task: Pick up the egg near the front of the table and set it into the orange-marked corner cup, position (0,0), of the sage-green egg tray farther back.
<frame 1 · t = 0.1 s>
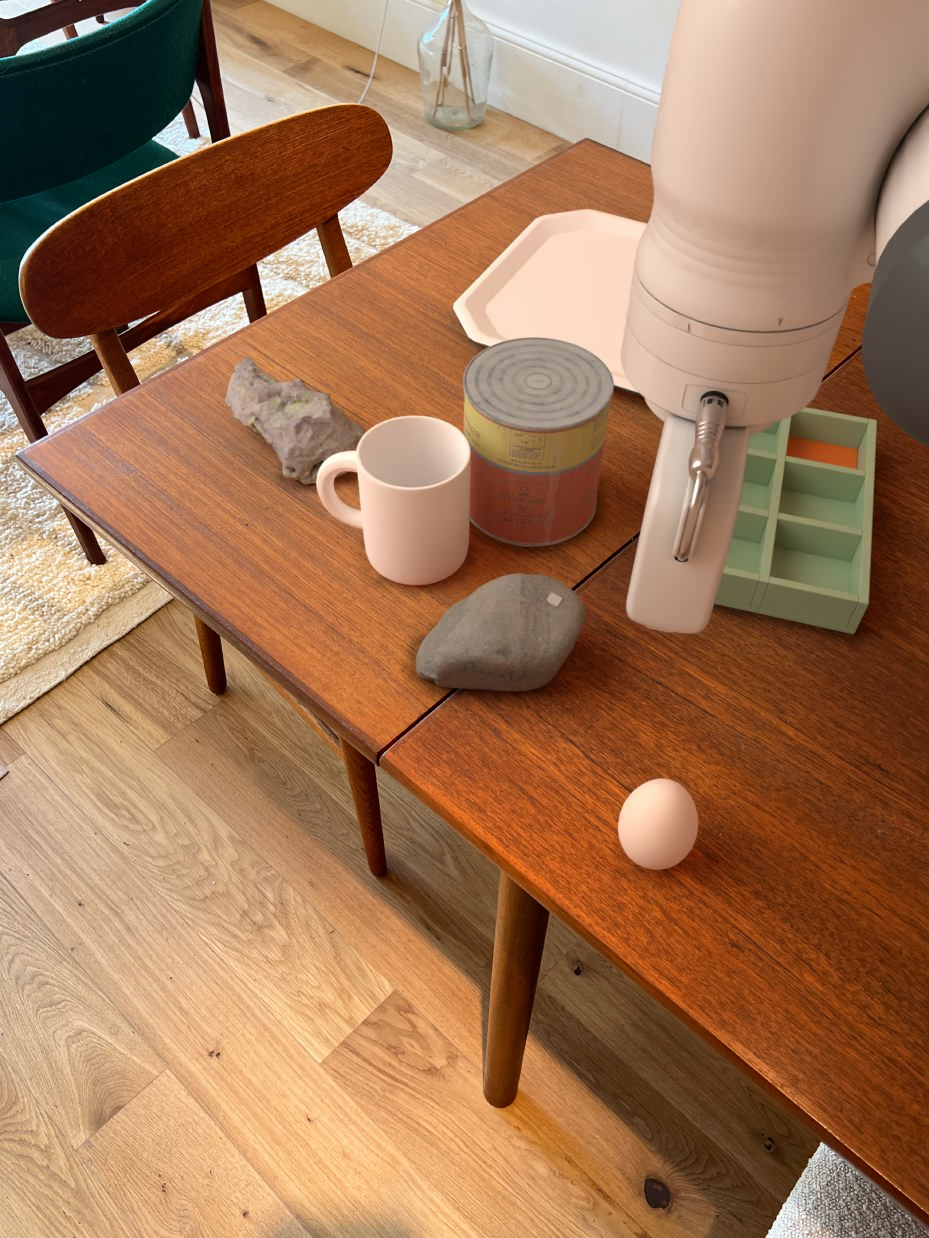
hand: (673, 556, 54), 19 cm above the table, tool pointing down, fingers open, 8 cm apart
mug: (395, 548, 80), on the table
canned food: (528, 501, 84), on the table
rock: (298, 448, 88), on the table
egg: (648, 854, 63), on the table
stone: (496, 662, 72), on the table
plate: (621, 313, 102), on the table
carton: (767, 516, 82), on the table
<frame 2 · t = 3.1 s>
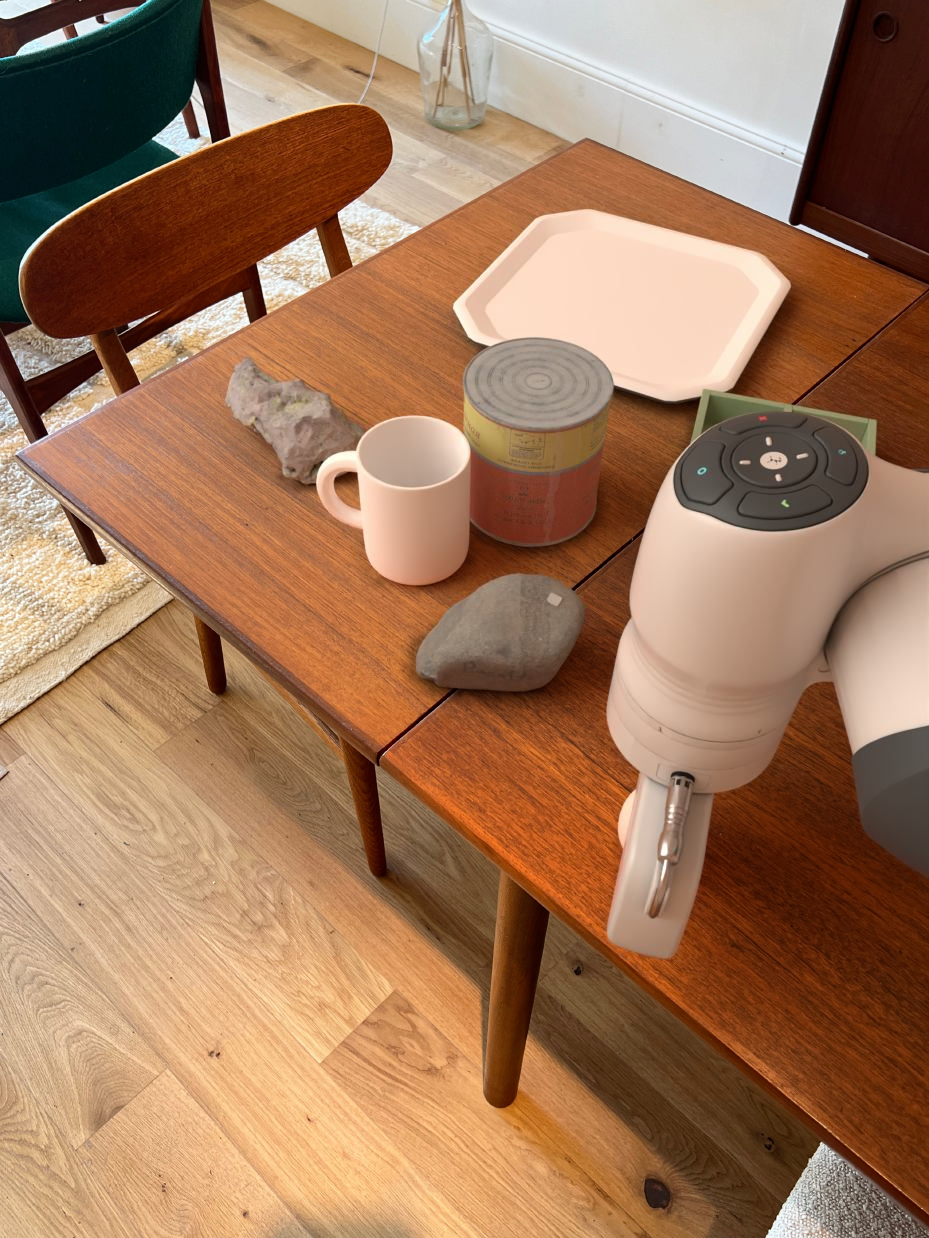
hand: (655, 834, 61), 2 cm above the table, tool pointing down, fingers closed on egg, 4 cm apart
egg: (648, 854, 63), on the table, touching gripper
everything else where it was.
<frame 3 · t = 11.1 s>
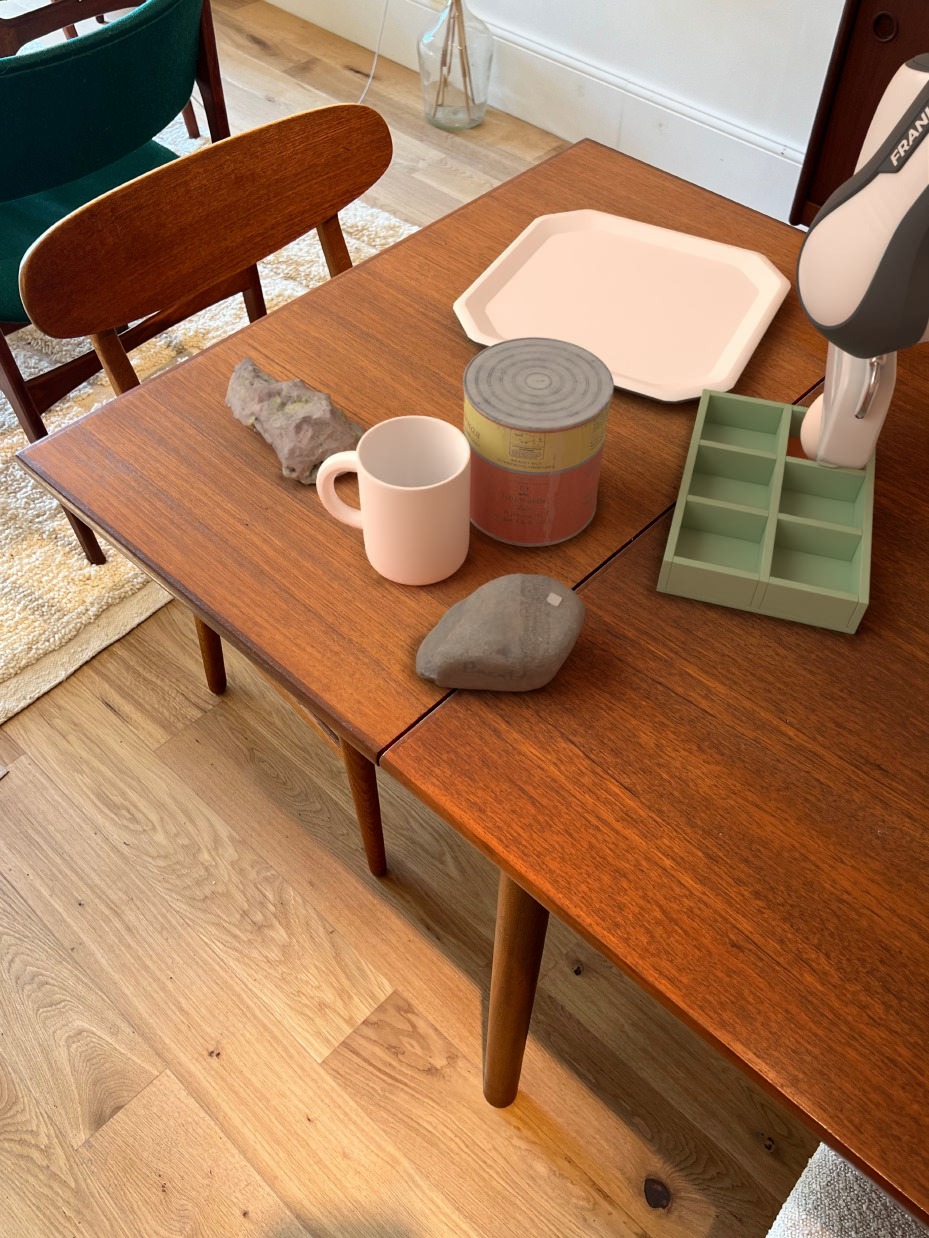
hand: (828, 438, 83), 4 cm above the table, tool pointing down, fingers closed on egg, 4 cm apart
egg: (819, 461, 85), point 1 cm above the table, touching gripper
everything else where it was.
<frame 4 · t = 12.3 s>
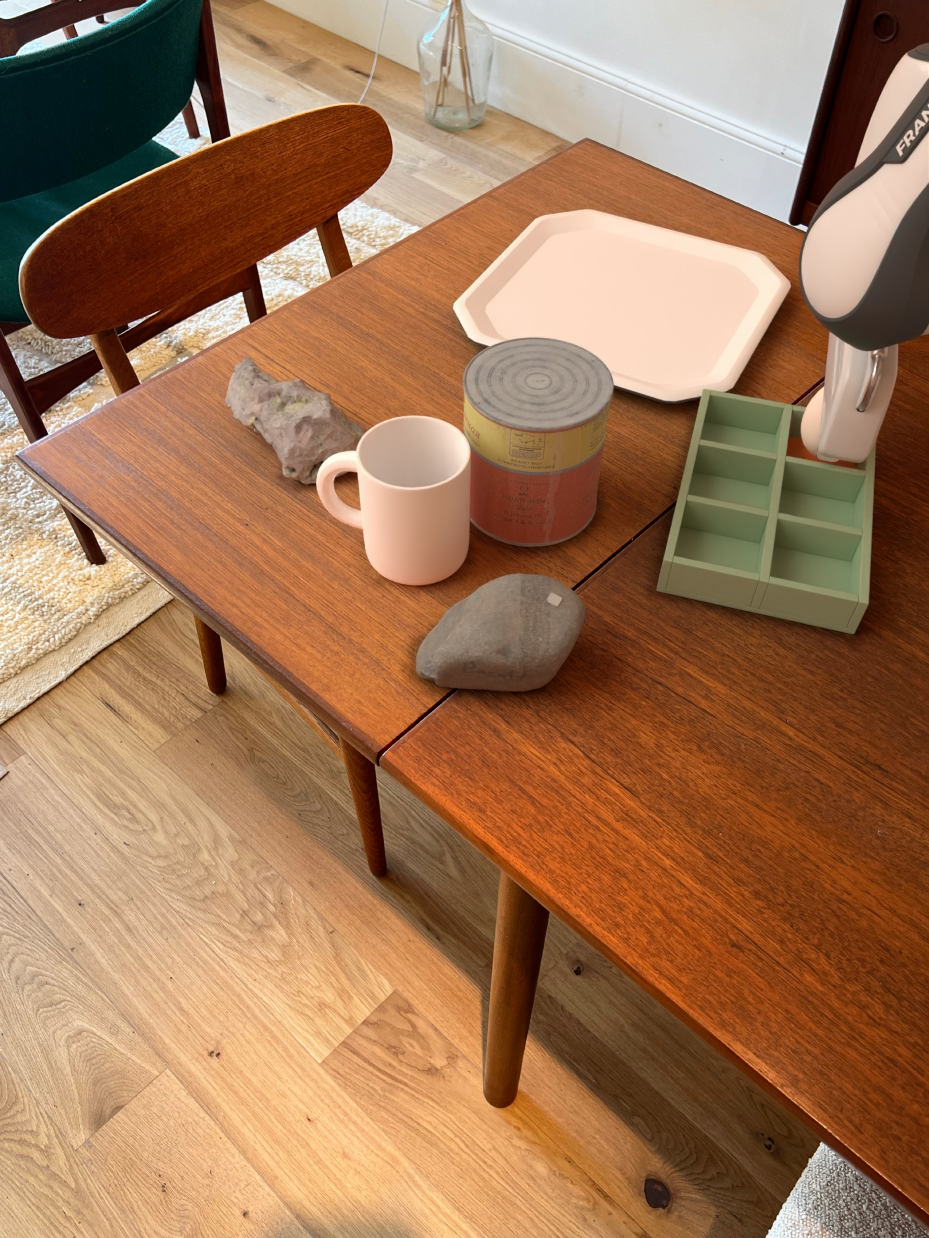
hand: (829, 432, 83), 4 cm above the table, tool pointing down, fingers closed on egg, 4 cm apart
egg: (819, 456, 85), point 2 cm above the table, touching gripper
everything else where it was.
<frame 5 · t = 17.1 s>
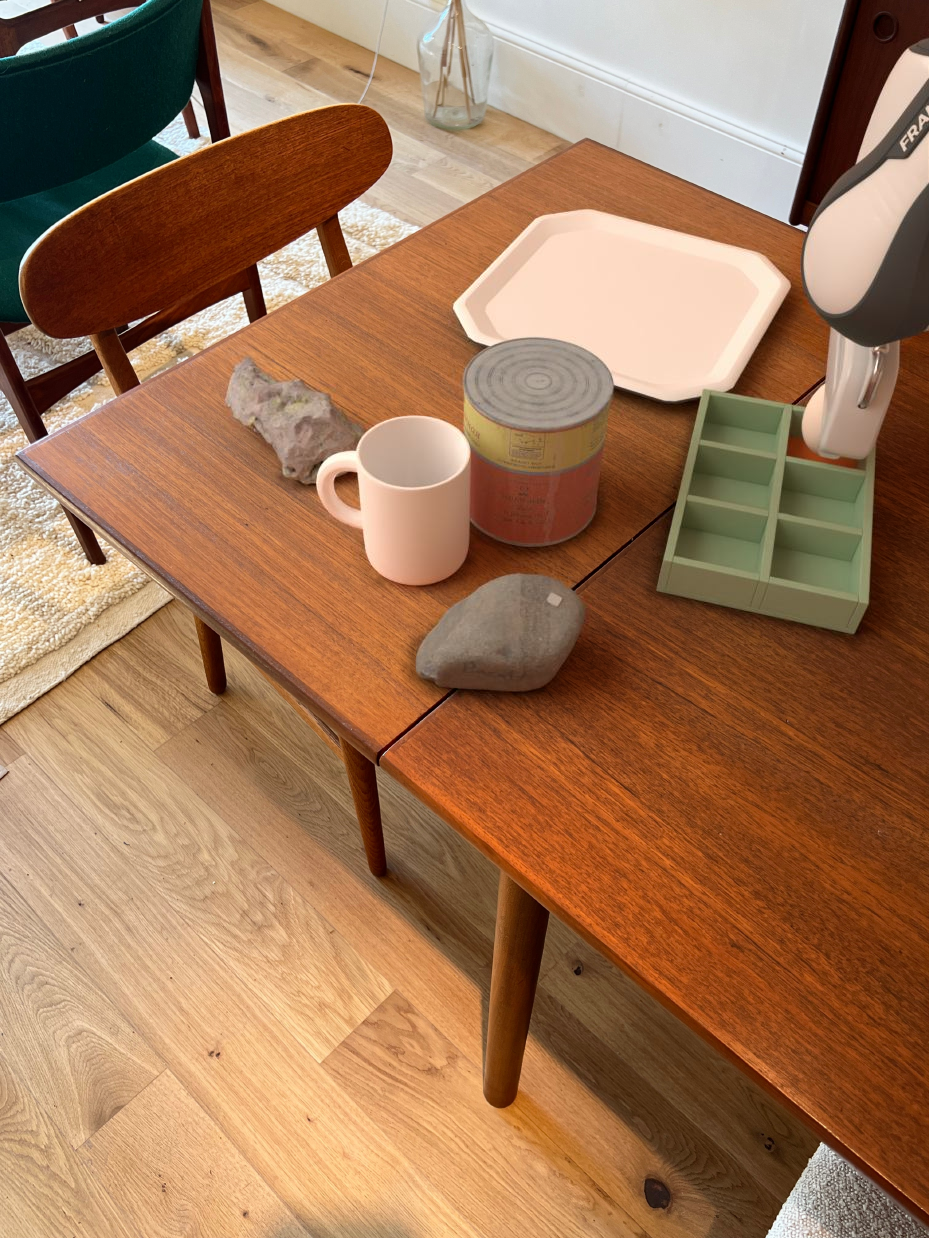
hand: (830, 430, 83), 4 cm above the table, tool pointing down, fingers closed on egg, 5 cm apart
egg: (820, 453, 85), point 2 cm above the table, touching gripper
everything else where it was.
when the fingers open (5 cm above the table, at t = 21.5 s): egg drops 2 cm, resting on carton.
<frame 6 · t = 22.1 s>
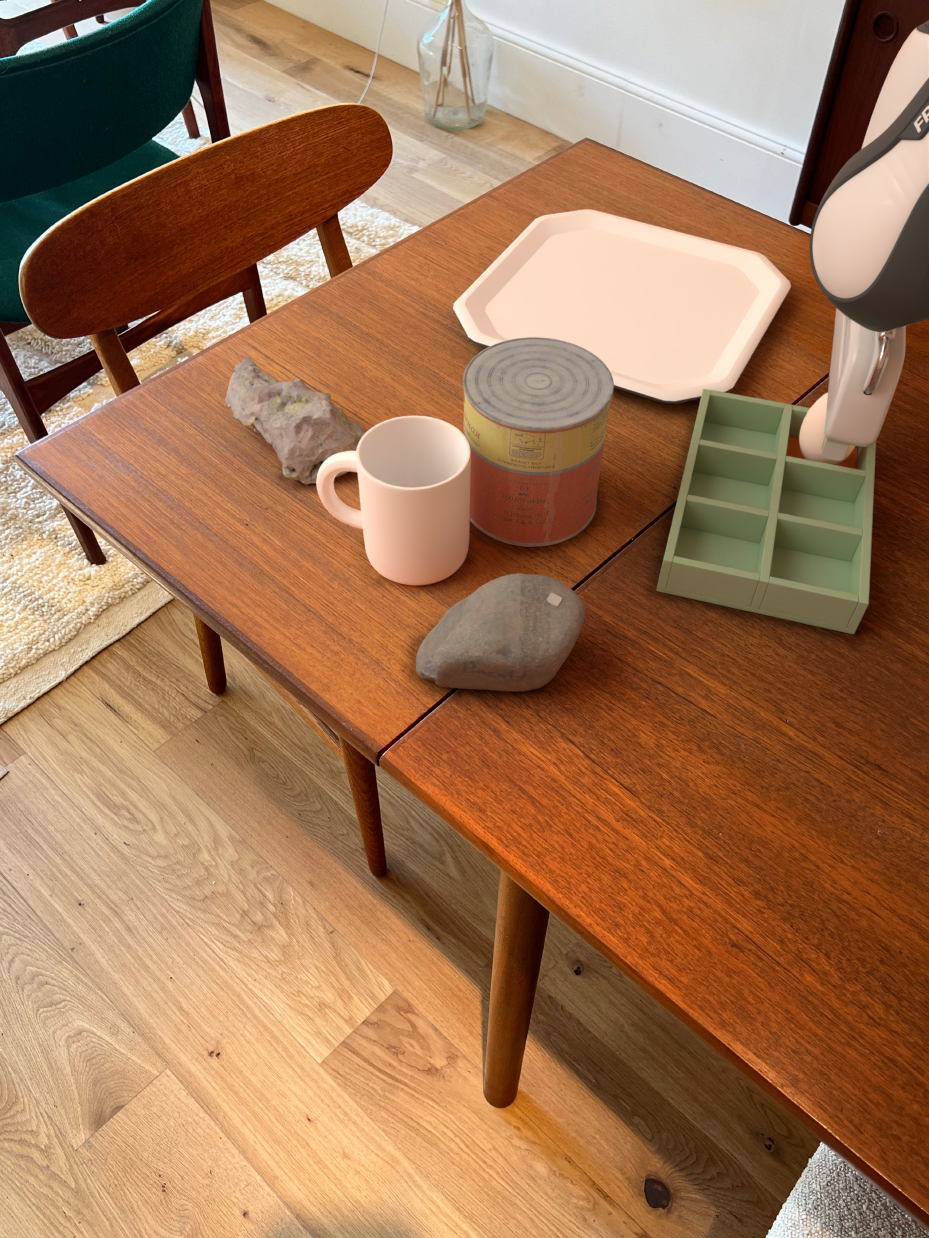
hand: (834, 418, 82), 6 cm above the table, tool pointing down, fingers open, 8 cm apart
egg: (818, 466, 86), point 1 cm above the table, touching carton
everything else where it was.
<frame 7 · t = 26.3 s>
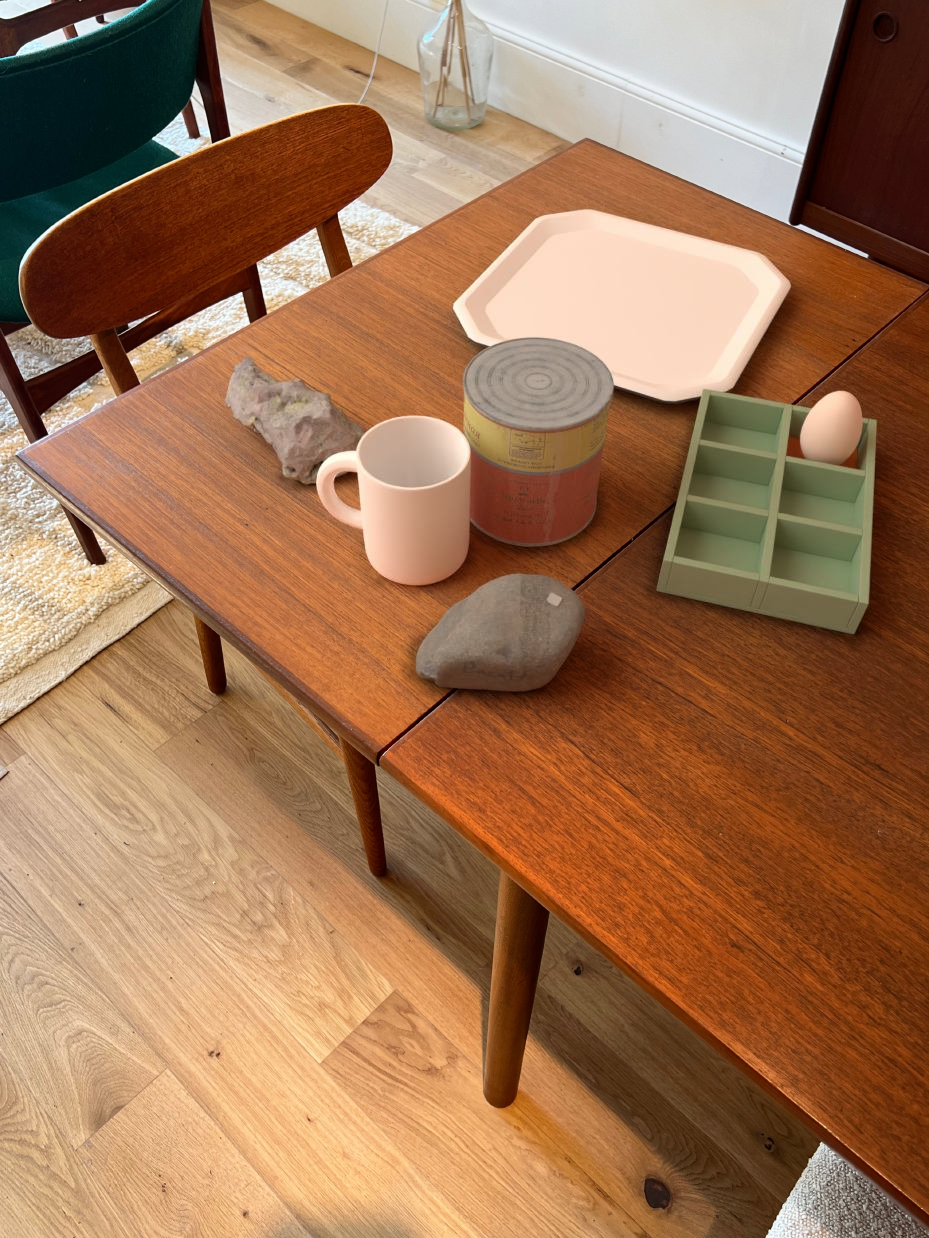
nothing on the table moved.
at the end: egg 0.1 cm from the target spot in the carton, point 0.5 cm above the carton's base; the gripper is holding nothing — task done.
